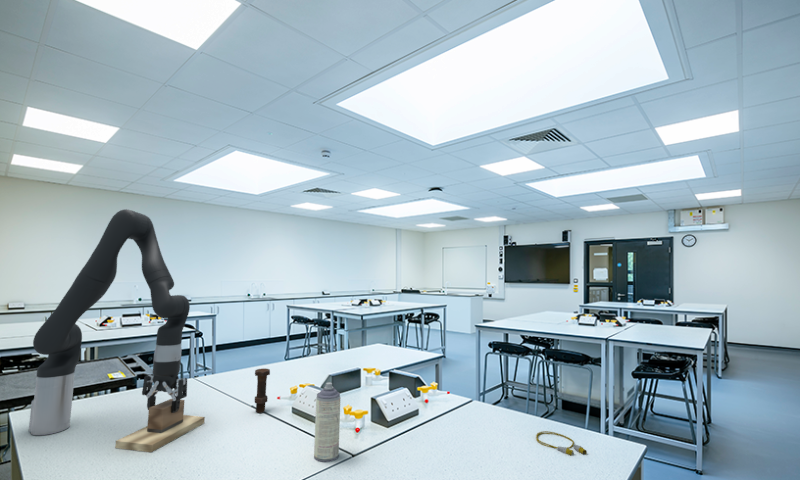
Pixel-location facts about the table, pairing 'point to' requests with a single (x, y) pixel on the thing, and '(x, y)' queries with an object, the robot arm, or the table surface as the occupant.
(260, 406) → the bolt
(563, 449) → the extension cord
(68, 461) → the table surface
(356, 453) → the table surface
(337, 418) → the aerosol can
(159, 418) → the block
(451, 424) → the table surface
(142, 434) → the pine board
